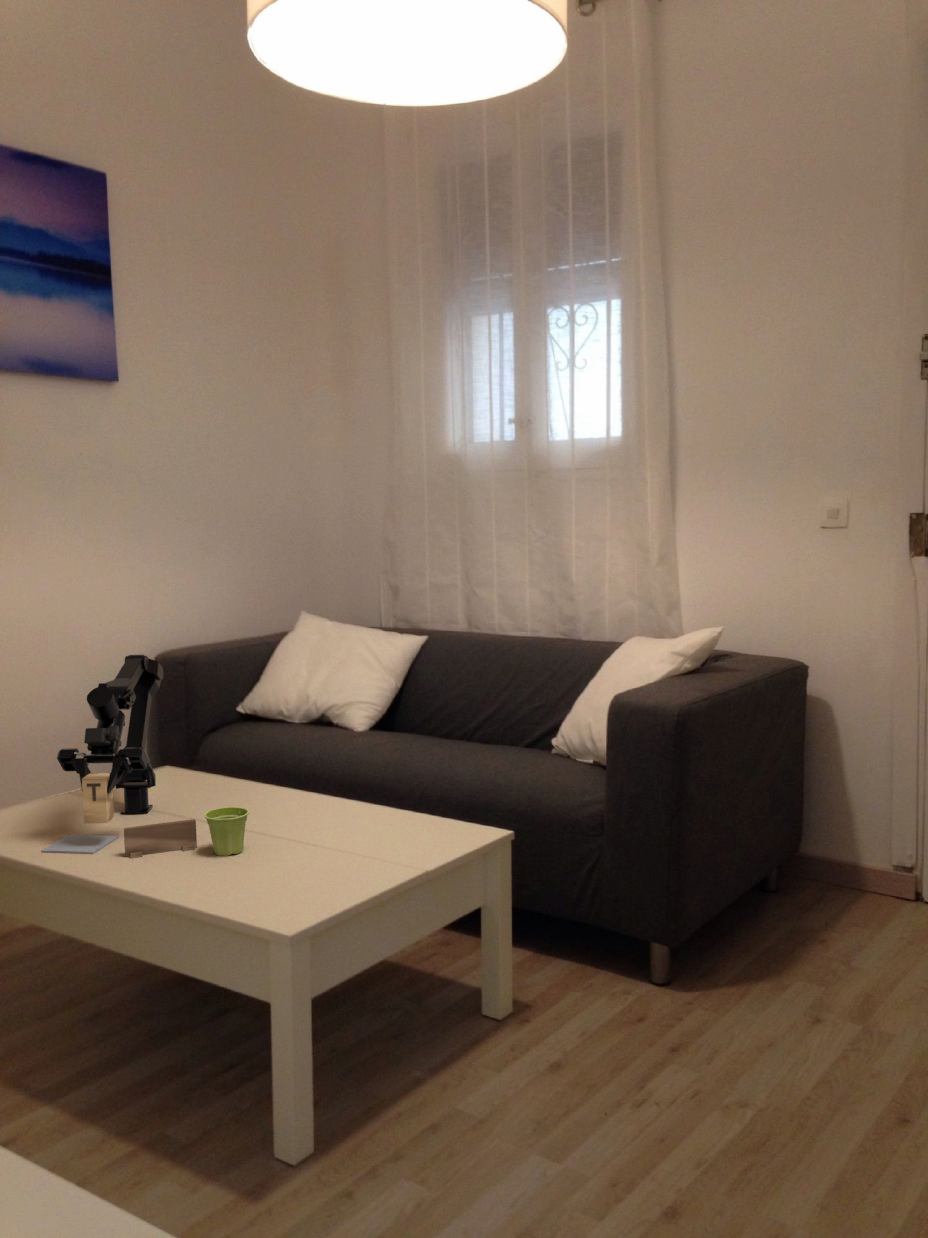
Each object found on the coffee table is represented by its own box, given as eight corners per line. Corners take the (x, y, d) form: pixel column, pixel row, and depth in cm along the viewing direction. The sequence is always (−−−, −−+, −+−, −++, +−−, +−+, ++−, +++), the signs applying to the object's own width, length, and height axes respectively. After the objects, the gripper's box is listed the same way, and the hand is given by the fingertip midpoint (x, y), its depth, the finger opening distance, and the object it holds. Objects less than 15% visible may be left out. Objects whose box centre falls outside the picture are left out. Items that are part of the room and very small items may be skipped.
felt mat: (69, 836, 255) (69, 834, 255) (118, 837, 253) (118, 836, 253) (41, 852, 243) (41, 850, 243) (93, 854, 241) (93, 852, 241)
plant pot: (240, 859, 236) (238, 819, 235) (198, 857, 238) (196, 817, 237) (257, 846, 245) (255, 807, 244) (217, 844, 247) (215, 806, 246)
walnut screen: (124, 853, 241) (123, 826, 240) (194, 844, 247) (193, 817, 247) (126, 858, 237) (125, 831, 237) (198, 849, 243) (196, 822, 243)
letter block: (91, 817, 249) (89, 773, 248) (114, 816, 249) (111, 772, 248) (84, 823, 244) (81, 779, 243) (107, 823, 244) (104, 778, 243)
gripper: (57, 713, 248) (41, 774, 238) (141, 711, 248) (129, 772, 238) (71, 740, 257) (57, 800, 247) (152, 739, 257) (141, 798, 247)
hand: (95, 792), depth 245 cm, fingers closed on letter block, 5 cm apart
